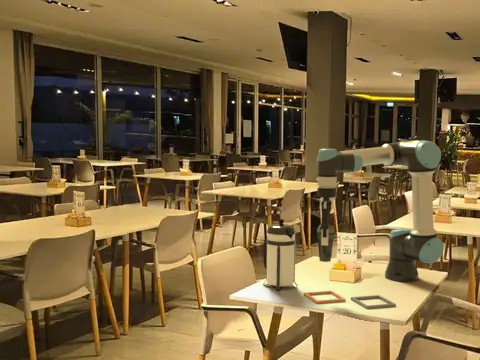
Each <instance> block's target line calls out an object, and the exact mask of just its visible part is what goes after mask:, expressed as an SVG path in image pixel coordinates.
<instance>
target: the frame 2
mask: <svg viewBox="0 0 480 360" xmlns="http://www.w3.org/2000/svg"><path fill="white" fill-rule="evenodd" d="M370 299H371V300H372V299H373V300H374V299H379V300H381V302H382V301H383V302H384V303H382V304H370V305H367V304H366V303H364V302H362V301H361V300H370ZM350 300H351V301H353V302H354V303H356V304H357V305H359V306H361V307H362V308H364V309H366V310H368V309H370V310H372V309H380V308H394V307H396V306H397V303H395V302H393V301H391V300H390V299H388V298H385V297H384V296H381V295H380V294H376V295H375V294H374V295H362V296H350Z"/></svg>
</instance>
